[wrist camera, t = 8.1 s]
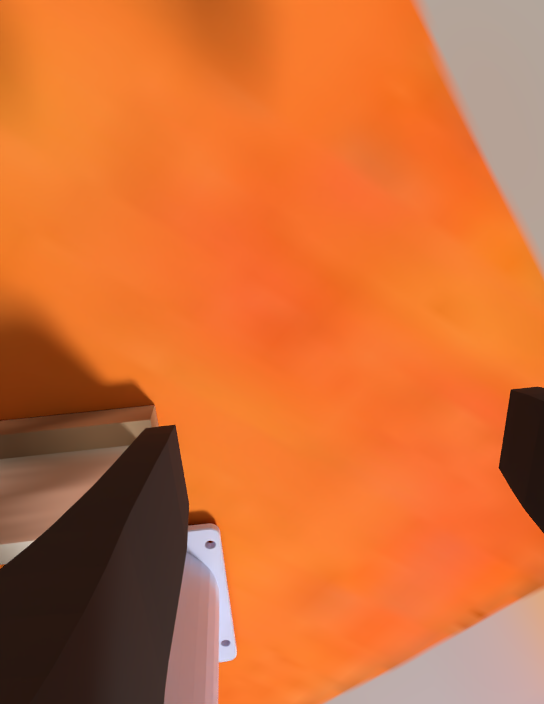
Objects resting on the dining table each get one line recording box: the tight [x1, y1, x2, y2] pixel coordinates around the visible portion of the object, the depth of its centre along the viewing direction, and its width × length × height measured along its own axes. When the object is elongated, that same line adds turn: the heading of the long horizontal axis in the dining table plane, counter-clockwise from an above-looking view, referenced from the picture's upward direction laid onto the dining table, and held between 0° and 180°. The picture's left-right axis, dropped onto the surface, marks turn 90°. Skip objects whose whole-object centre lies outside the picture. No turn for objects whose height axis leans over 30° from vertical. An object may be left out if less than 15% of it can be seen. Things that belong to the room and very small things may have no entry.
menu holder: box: [0, 405, 159, 565], centre depth 17 cm, size 10×3×6 cm, turn 94°
